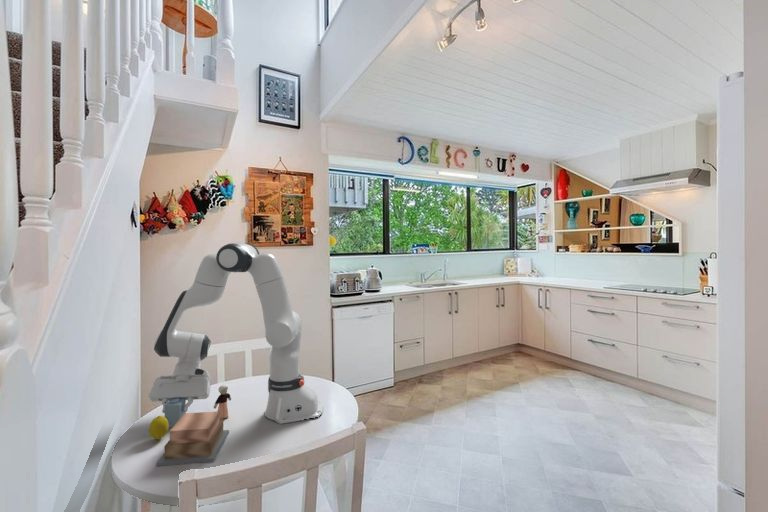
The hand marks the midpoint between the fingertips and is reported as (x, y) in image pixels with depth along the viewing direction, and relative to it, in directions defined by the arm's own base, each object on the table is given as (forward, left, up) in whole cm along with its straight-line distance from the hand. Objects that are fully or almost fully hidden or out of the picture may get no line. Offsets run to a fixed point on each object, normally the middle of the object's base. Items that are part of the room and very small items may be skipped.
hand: (174, 411), depth 124 cm
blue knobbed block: (0, -1, -5) cm, 5 cm away
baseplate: (-13, +16, -5) cm, 21 cm away
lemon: (+1, +10, -5) cm, 11 cm away
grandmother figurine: (-16, -3, -5) cm, 17 cm away
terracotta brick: (-13, +16, -4) cm, 21 cm away
